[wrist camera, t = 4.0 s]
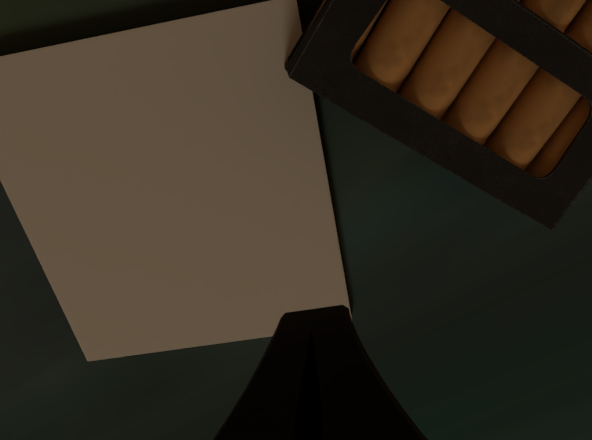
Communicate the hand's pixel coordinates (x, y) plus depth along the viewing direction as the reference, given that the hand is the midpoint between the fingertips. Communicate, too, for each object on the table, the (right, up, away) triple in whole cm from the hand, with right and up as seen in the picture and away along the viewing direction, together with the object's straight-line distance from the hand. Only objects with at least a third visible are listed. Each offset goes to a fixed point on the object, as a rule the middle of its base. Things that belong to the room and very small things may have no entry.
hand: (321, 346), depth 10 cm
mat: (-5, +3, +9) cm, 11 cm away
